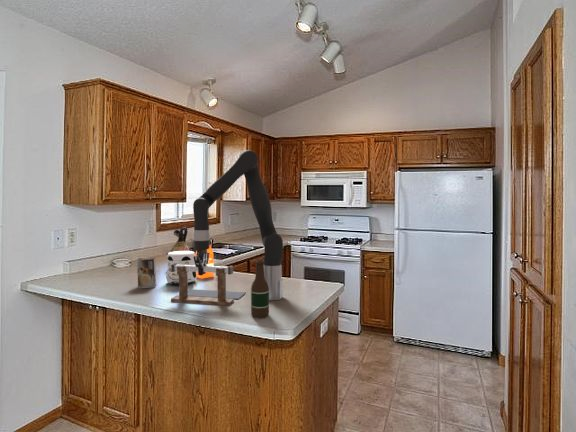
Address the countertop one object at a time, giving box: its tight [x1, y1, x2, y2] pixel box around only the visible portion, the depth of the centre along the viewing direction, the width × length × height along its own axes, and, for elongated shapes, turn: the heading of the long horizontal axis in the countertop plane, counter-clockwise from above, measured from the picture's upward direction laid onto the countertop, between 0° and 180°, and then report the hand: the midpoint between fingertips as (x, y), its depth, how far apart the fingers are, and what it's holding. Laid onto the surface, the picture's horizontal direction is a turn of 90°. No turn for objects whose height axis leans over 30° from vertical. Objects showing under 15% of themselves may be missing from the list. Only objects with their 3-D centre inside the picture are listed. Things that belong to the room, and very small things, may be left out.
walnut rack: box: [170, 264, 235, 306], centre depth 178 cm, size 30×6×18 cm, turn 79°
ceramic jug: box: [170, 226, 191, 252], centre depth 250 cm, size 17×15×30 cm
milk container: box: [165, 250, 198, 286], centre depth 216 cm, size 17×17×18 cm
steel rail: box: [171, 263, 234, 275], centre depth 178 cm, size 30×4×4 cm, turn 79°
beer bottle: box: [250, 259, 270, 319], centre depth 158 cm, size 8×8×24 cm
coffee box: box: [136, 257, 157, 289], centre depth 207 cm, size 9×6×16 cm
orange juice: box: [195, 245, 215, 279], centre depth 233 cm, size 8×9×20 cm
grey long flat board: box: [188, 288, 247, 300], centre depth 192 cm, size 32×12×1 cm, turn 79°
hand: (202, 274), depth 178 cm, fingers closed on steel rail, 2 cm apart
